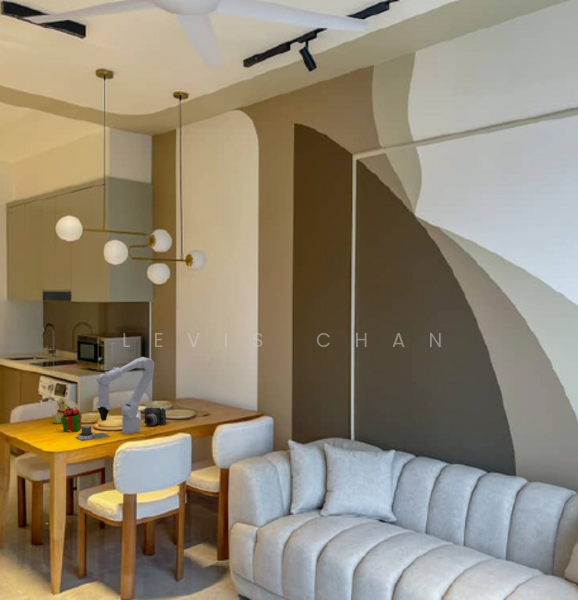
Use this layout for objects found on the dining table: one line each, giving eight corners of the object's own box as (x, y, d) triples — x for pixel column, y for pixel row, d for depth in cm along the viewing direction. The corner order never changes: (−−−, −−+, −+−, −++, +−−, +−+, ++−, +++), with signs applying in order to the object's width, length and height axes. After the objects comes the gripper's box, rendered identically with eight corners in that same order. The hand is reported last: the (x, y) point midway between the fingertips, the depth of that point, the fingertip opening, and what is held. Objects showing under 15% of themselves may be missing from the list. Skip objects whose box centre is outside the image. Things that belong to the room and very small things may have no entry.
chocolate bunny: (73, 421, 359) (73, 397, 358) (55, 424, 351) (55, 399, 350) (67, 419, 364) (67, 395, 363) (50, 422, 356) (50, 397, 355)
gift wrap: (60, 431, 342) (57, 407, 343) (93, 427, 344) (90, 403, 344) (49, 439, 322) (46, 412, 323) (84, 434, 324) (81, 408, 324)
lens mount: (103, 434, 331) (103, 428, 331) (110, 438, 324) (110, 432, 323) (74, 438, 321) (74, 433, 321) (81, 443, 313) (81, 437, 313)
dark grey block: (89, 436, 323) (89, 425, 323) (92, 437, 320) (92, 426, 319) (80, 437, 320) (80, 426, 320) (83, 439, 316) (83, 428, 316)
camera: (136, 425, 352) (137, 408, 352) (147, 421, 362) (147, 405, 362) (156, 428, 347) (157, 411, 347) (167, 424, 357) (167, 407, 357)
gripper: (91, 394, 327) (91, 419, 327) (102, 399, 316) (102, 424, 316) (103, 393, 331) (103, 417, 332) (114, 397, 320) (114, 422, 321)
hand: (103, 420), depth 324 cm, fingers closed
